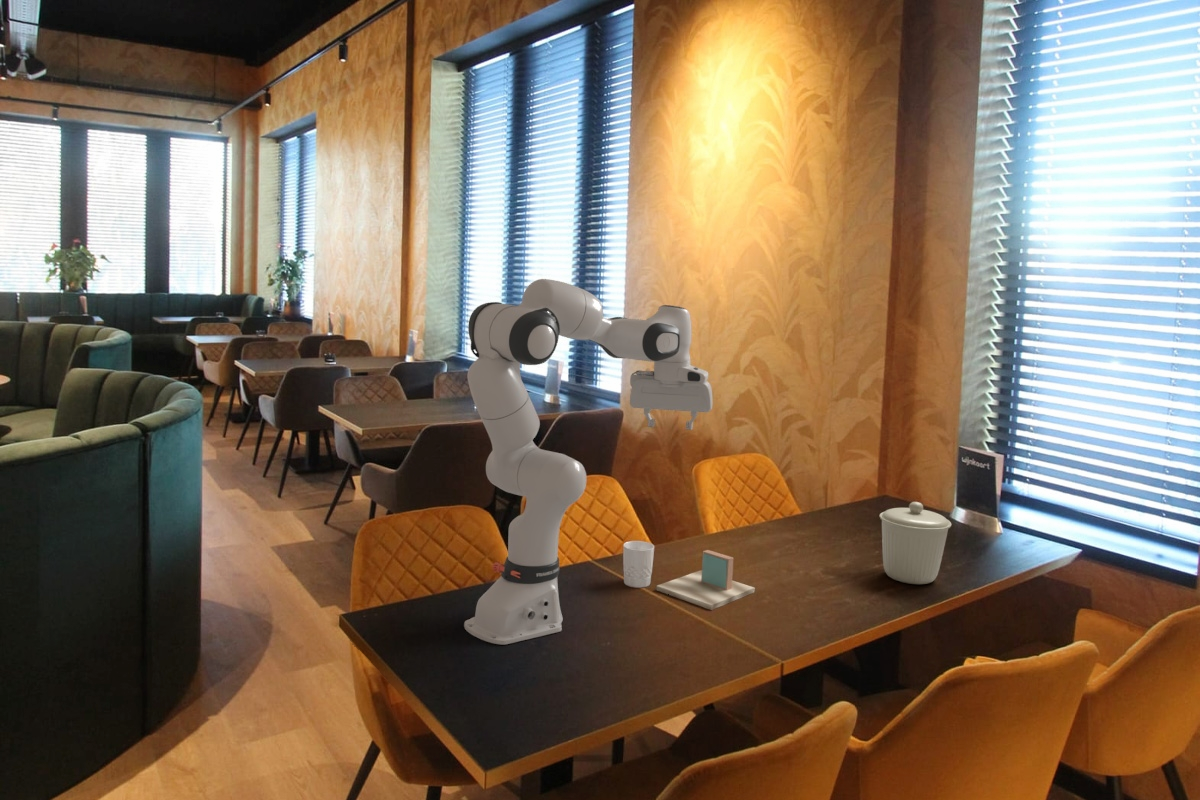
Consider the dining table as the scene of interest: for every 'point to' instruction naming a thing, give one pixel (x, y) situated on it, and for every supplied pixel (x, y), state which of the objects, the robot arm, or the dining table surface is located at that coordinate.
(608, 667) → the dining table surface
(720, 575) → the block
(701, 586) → the board
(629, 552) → the white cup
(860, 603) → the dining table surface
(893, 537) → the canister
